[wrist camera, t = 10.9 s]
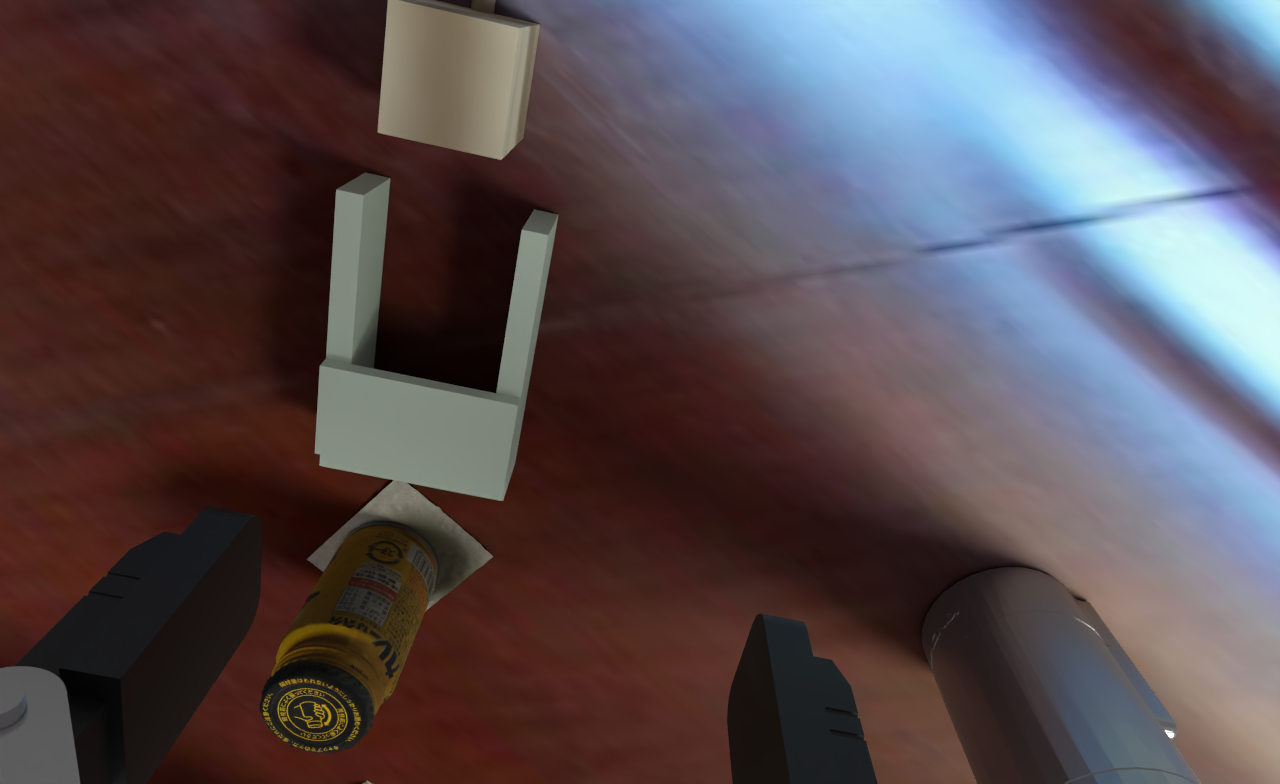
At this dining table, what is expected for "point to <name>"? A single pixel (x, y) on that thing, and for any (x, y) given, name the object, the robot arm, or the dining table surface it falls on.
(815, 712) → the robot arm
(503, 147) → the tethered block
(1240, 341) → the dining table surface
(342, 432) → the u-shaped sage bracket
